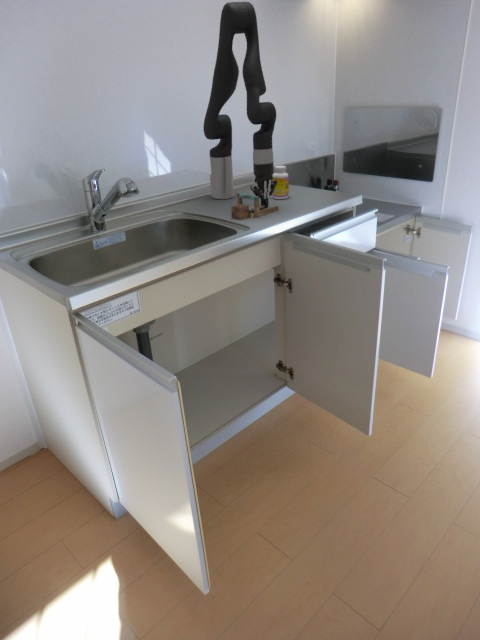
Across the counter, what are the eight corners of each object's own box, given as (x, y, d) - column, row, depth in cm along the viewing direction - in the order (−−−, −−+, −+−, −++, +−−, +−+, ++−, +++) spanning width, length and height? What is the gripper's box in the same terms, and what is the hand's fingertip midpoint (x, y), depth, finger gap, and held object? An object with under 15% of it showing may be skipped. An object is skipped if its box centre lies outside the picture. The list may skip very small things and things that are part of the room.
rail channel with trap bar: (235, 214, 184) (234, 194, 180) (261, 206, 192) (261, 187, 189) (253, 218, 177) (253, 198, 174) (280, 210, 186) (280, 190, 182)
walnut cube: (231, 218, 179) (231, 205, 177) (240, 215, 182) (239, 203, 180) (240, 220, 176) (239, 207, 174) (249, 217, 179) (248, 205, 177)
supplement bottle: (287, 199, 201) (287, 167, 195) (271, 199, 202) (271, 168, 196) (289, 196, 206) (289, 165, 201) (274, 196, 208) (273, 165, 202)
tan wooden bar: (242, 216, 181) (242, 209, 180) (259, 211, 187) (259, 204, 185) (248, 217, 179) (247, 210, 178) (264, 212, 185) (264, 205, 184)
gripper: (268, 158, 185) (269, 203, 193) (243, 163, 177) (245, 210, 185) (282, 159, 180) (283, 205, 188) (258, 164, 172) (259, 213, 180)
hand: (264, 207), depth 186 cm, fingers closed
